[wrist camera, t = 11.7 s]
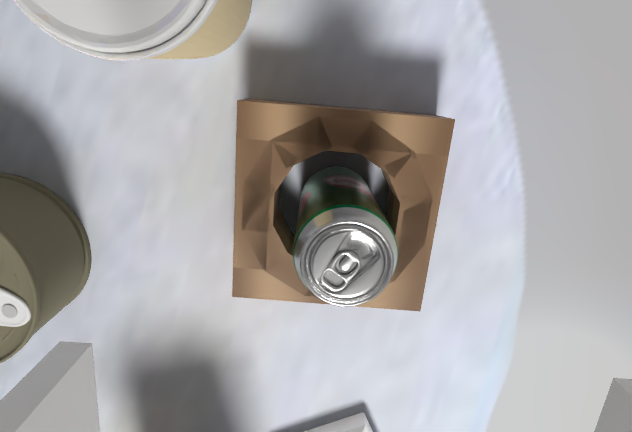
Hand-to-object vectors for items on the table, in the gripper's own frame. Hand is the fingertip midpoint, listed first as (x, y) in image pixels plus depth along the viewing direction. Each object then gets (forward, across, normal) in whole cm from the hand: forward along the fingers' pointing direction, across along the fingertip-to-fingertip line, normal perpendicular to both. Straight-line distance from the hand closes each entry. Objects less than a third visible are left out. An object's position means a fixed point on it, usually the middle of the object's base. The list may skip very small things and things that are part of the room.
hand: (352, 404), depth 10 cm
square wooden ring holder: (+20, 0, 0) cm, 20 cm away
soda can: (+21, +1, 0) cm, 21 cm away
